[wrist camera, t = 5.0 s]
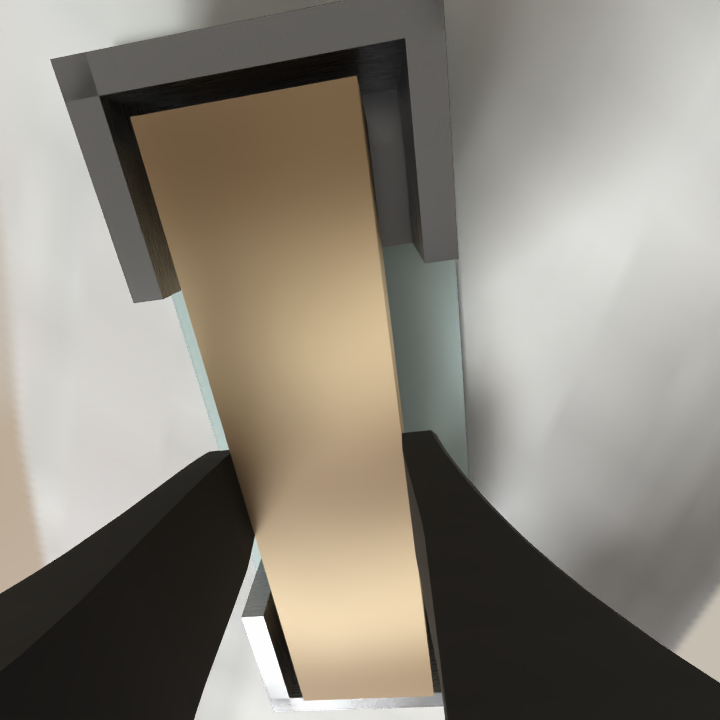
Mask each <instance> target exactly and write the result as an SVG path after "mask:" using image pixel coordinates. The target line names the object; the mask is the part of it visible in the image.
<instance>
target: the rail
mask: <svg viewBox="0 0 720 720" xmlns="http://www.w3.org/2000/svg"><path fill="white" fill-rule="evenodd" d="M130 119H131V122H132V126H133V129H134V132H135V136H136V139H137V142H138V146H139V149H140V152H141V156H142V159H143V163H144V166H145V169H146V173H147V176H148V179H149V183H150V186H151V189H152V193H153V196H154V199H155V203H156V206H157V209H158V213H159V216H160V220H161V223H162V226H163V230H164V233H165V236H166V240H167V243H168V246H169V250H170V253H171V256H172V260H173V263H174V267H175V270H176V273H177V277H178V280H179V283H180V287H181V290H182V293H183V297H184V300H185V303H186V307H187V310H188V313H189V317H190V320H191V324H192V327H193V330H194V334H195V337H196V340H197V344H198V347H199V350H200V354H201V357H202V360H203V364H204V367H205V371H206V374H207V377H208V381H209V384H210V387H211V391H212V394H213V397H214V401H215V404H216V407H217V411H218V414H219V417H220V421H221V424H222V428H223V431H224V434H225V438H226V441H227V444H228V448H229V451H230V454H231V457H232V461H233V464H234V467H235V471H236V474H237V477H238V481H239V484H240V488H241V491H242V494H243V498H244V501H245V504H246V508H247V511H248V514H249V518H250V521H251V525H252V528H253V531H254V535H255V538H256V542H257V545H258V548H259V552H260V555H261V558H262V562H263V565H264V568H265V572H266V575H267V579H268V582H269V585H270V589H271V592H272V595H273V599H274V602H275V605H276V609H277V612H278V615H279V619H280V622H281V625H282V629H283V632H284V636H285V639H286V642H287V646H288V649H289V652H290V656H291V659H292V662H293V666H294V669H295V672H296V676H297V679H298V683H299V686H300V689H301V693H302V696H303V699H304V701H314V700H341V699H369V698H397V697H424V696H434V690H433V681H432V671H431V661H430V651H429V641H428V632H427V622H426V612H425V602H424V597H423V591H422V586H421V581H420V576H419V571H418V566H417V560H416V554H415V546H414V538H413V530H412V522H411V514H410V506H409V498H408V490H407V482H406V474H405V466H404V458H403V451H402V433H404V424H403V416H402V408H401V400H400V391H399V383H398V375H397V367H396V359H395V350H394V342H393V334H392V326H391V317H390V309H389V301H388V293H387V284H386V276H385V268H384V260H383V252H382V243H381V235H380V227H379V219H378V210H377V202H376V194H375V186H374V178H373V169H372V161H371V153H370V145H369V136H368V128H367V120H366V115H365V111H364V106H363V102H362V97H361V93H360V88H359V84H358V79H357V76H352V77H347V78H341V79H336V80H330V81H325V82H319V83H314V84H308V85H303V86H297V87H292V88H286V89H281V90H276V91H270V92H265V93H259V94H254V95H248V96H243V97H237V98H232V99H226V100H221V101H215V102H210V103H204V104H199V105H193V106H188V107H182V108H177V109H171V110H166V111H161V112H155V113H150V114H144V115H139V116H133V117H130Z"/></svg>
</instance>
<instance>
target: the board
mask: <svg viewBox="0 0 720 720" xmlns="http://www.w3.org/2000/svg"><path fill="white" fill-rule="evenodd" d="M382 252H383V260H384V268H385V276H386V284H387V293H388V301H389V309H390V317H391V326H392V334H393V342H394V350H395V359H396V367H397V375H398V383H399V391H400V400H401V408H402V416H403V424H404V433H406V432H416V431H427V430H432V431H433V432H434V433H435V434H437V436H438V438H439V440H440V441H441V443H442V445H443V446H444V448H445V449H446V451H447V452H448V453H449V455H450V456H451V458H452V459H453V460H454V462H455V463H456V464H457V466H458V467H459V468H460V469H461V471H462V472H463V473H464V474H465V476H466V477H467V478H468V479H469V471H468V455H467V438H466V422H465V406H464V389H463V373H462V356H461V340H460V323H459V307H458V291H457V274H456V259H455V260H447V261H440V262H433V263H424V261H423V260H422V258H421V256H420V255H419V253H418V251H417V250H416V248H415V246H414V245H413V243H408V244H401V245H394V246H387V247H382ZM171 296H172V299H173V302H174V306H175V309H176V312H177V315H178V318H179V322H180V325H181V328H182V331H183V335H184V338H185V341H186V344H187V348H188V351H189V354H190V357H191V361H192V364H193V367H194V370H195V374H196V377H197V380H198V383H199V387H200V390H201V393H202V396H203V400H204V403H205V406H206V409H207V413H208V416H209V419H210V422H211V426H212V429H213V432H214V435H215V439H216V442H217V445H218V448H219V451H222V450H229V448H228V444H227V441H226V438H225V434H224V431H223V428H222V424H221V421H220V417H219V414H218V411H217V407H216V404H215V401H214V397H213V394H212V391H211V387H210V384H209V381H208V377H207V374H206V371H205V367H204V364H203V360H202V357H201V354H200V350H199V347H198V344H197V340H196V337H195V334H194V330H193V327H192V324H191V320H190V317H189V313H188V310H187V307H186V303H185V300H184V297H183V293H182V290H181V291H179V292H177V293H175V294H173V295H171ZM251 556H252V559H253V562H254V565H255V569H256V572H257V569H258V566H259V563H260V560H261V555H260V552H259V548H258V545H257V542H256V538H254V543H253V548H252V552H251Z"/></svg>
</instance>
